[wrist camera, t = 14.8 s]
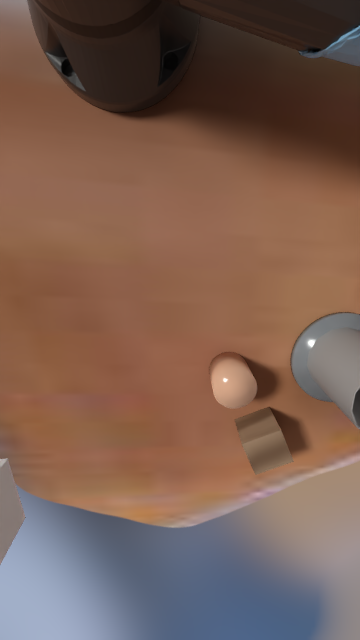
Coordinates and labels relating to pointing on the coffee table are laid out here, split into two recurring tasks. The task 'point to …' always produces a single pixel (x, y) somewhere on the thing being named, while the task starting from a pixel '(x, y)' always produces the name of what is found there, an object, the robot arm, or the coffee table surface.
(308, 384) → the coaster
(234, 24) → the robot arm
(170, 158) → the coffee table surface
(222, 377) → the peach capsule shape
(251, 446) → the walnut block
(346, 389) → the cup
